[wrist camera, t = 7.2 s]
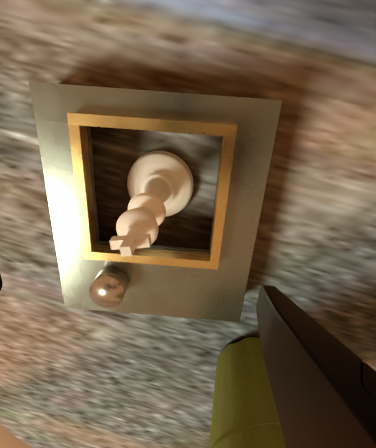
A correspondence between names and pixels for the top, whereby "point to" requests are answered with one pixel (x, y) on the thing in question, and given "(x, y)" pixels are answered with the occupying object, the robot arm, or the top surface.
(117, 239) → the chess piece
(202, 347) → the top surface
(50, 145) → the grey hollow block
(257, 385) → the plant pot
